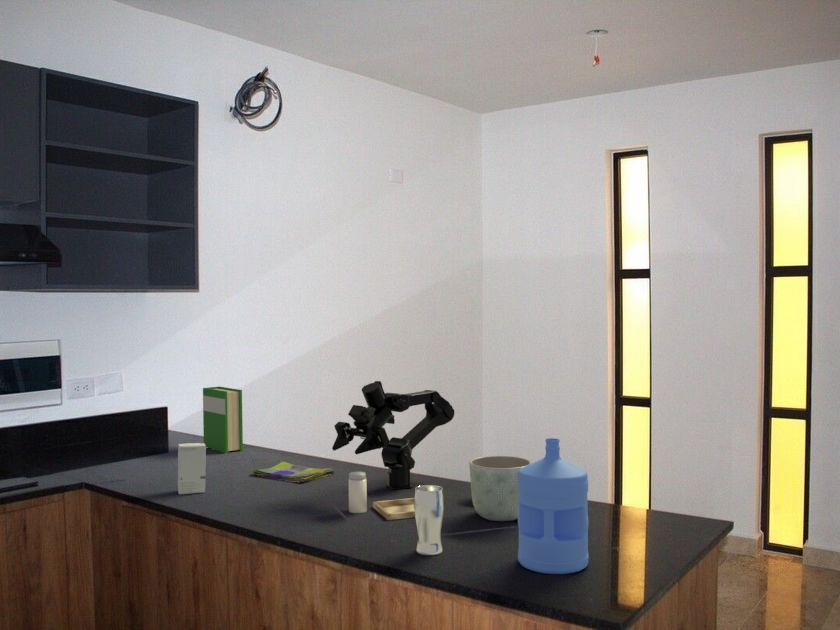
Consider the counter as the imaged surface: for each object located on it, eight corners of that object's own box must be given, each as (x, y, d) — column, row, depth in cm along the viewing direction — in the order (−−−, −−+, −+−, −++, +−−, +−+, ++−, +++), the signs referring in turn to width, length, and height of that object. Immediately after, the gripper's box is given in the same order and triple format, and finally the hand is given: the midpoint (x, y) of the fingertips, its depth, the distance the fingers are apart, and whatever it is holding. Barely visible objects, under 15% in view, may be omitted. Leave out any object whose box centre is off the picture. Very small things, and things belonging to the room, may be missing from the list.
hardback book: (242, 451, 315) (241, 389, 314) (225, 453, 310) (224, 391, 309) (220, 445, 328) (219, 386, 327) (203, 447, 323) (202, 388, 322)
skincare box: (178, 495, 246) (177, 446, 245) (177, 490, 251) (176, 443, 251) (206, 492, 248) (206, 444, 248) (205, 488, 254) (204, 441, 254)
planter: (521, 507, 228) (521, 454, 227) (540, 524, 211) (540, 467, 211) (463, 511, 225) (463, 457, 224) (478, 528, 208) (477, 469, 208)
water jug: (524, 550, 190) (523, 432, 189) (591, 555, 186) (591, 435, 185) (512, 571, 175) (511, 444, 175) (585, 578, 171) (584, 447, 170)
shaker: (364, 509, 227) (363, 470, 227) (368, 513, 223) (368, 474, 222) (346, 511, 226) (346, 472, 225) (351, 515, 221) (351, 475, 221)
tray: (419, 504, 232) (419, 497, 232) (436, 516, 219) (436, 509, 219) (373, 508, 228) (372, 501, 228) (387, 521, 215) (387, 514, 214)
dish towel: (285, 467, 286) (285, 459, 286) (337, 475, 273) (337, 467, 273) (249, 476, 272) (249, 468, 272) (302, 485, 258) (302, 477, 258)
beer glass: (413, 547, 193) (413, 485, 193) (442, 546, 194) (441, 484, 193) (415, 556, 186) (415, 492, 186) (445, 555, 187) (445, 491, 186)
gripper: (344, 396, 247) (312, 425, 237) (390, 400, 235) (358, 431, 225) (356, 425, 252) (325, 455, 241) (402, 431, 240) (371, 463, 229)
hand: (344, 451), depth 234 cm, fingers open, 9 cm apart
